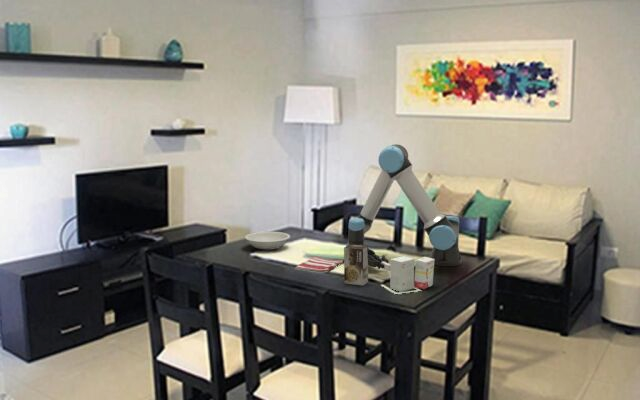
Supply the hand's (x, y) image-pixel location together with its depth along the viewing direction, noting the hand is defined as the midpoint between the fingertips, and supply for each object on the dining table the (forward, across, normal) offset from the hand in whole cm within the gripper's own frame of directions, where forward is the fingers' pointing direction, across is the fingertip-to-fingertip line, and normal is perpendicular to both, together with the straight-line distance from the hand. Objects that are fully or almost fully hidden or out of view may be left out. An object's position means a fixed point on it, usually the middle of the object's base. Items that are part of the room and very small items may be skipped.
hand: (389, 268), depth 268 cm
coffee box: (-4, +14, -6) cm, 16 cm away
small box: (+11, 0, -6) cm, 13 cm away
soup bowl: (-79, +30, -6) cm, 85 cm away
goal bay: (+10, 0, -6) cm, 12 cm away
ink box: (+12, -10, -6) cm, 17 cm away
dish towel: (-36, +17, -7) cm, 41 cm away
